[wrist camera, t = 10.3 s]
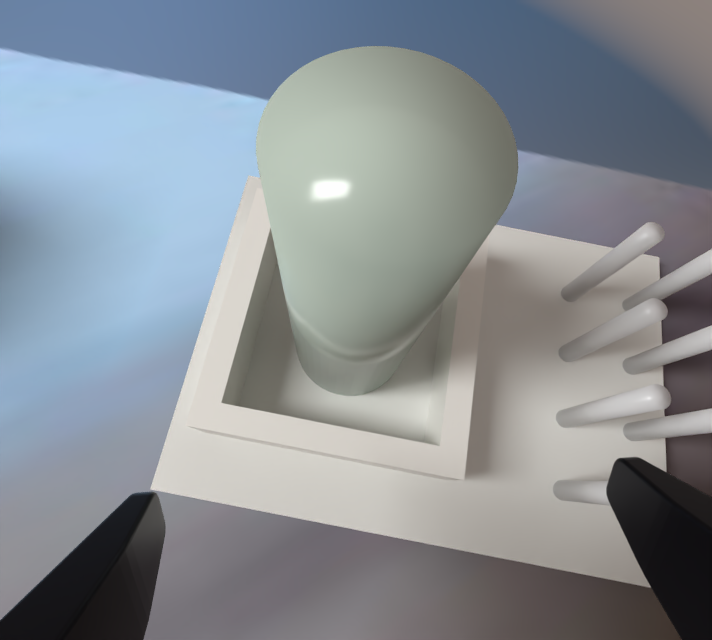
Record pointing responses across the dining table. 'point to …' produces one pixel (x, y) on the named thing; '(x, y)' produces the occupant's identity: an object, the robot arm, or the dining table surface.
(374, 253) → the sage green domed cylinder
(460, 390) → the dish drying rack
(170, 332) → the dining table surface
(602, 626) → the dining table surface
